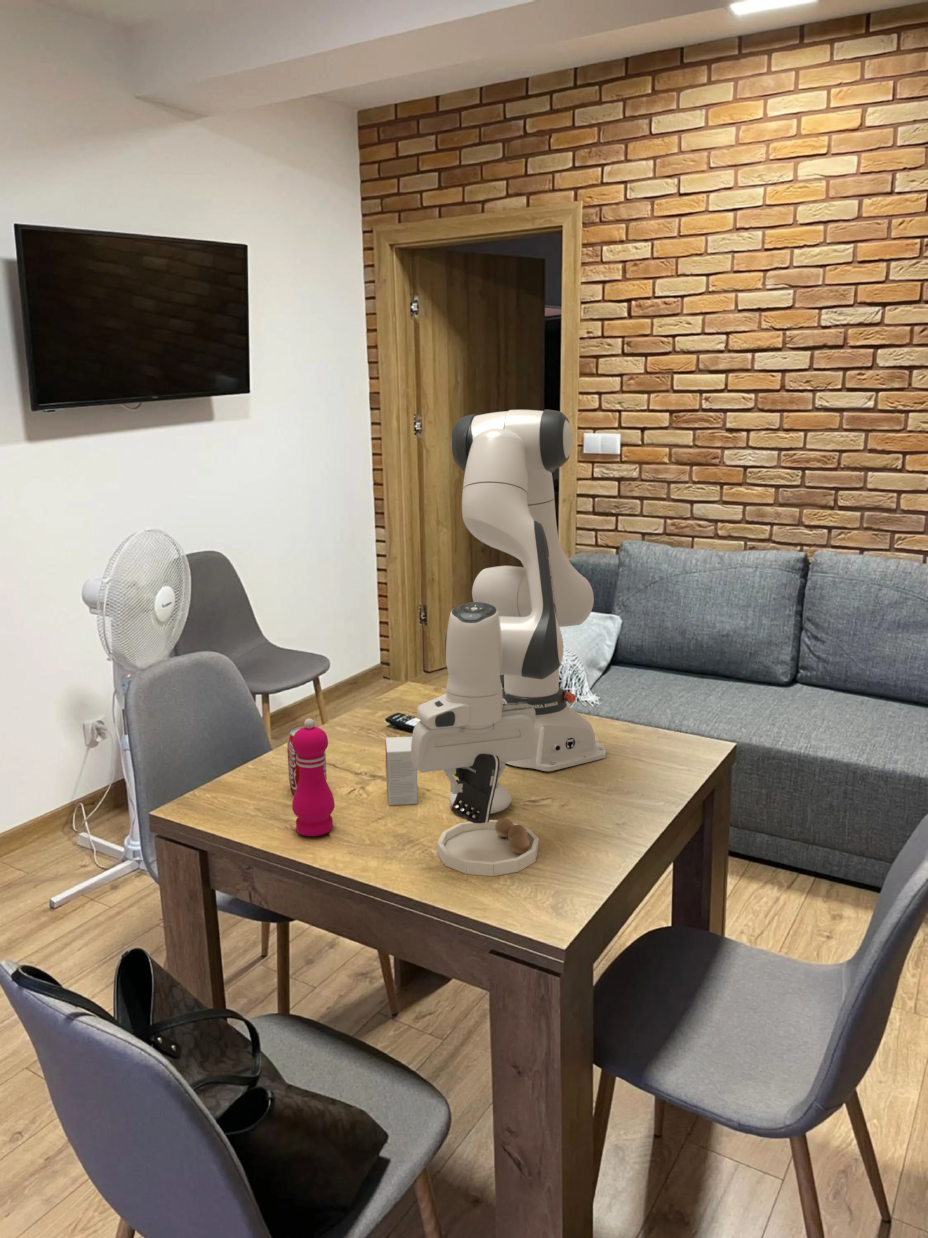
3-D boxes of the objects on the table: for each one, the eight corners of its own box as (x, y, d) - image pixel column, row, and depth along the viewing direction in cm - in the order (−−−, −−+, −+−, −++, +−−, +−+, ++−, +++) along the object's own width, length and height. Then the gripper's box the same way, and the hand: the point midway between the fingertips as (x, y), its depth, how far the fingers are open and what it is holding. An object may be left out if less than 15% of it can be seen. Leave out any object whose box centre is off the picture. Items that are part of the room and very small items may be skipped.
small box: (386, 789, 184) (384, 737, 182) (415, 787, 184) (414, 735, 182) (387, 806, 176) (385, 751, 174) (418, 804, 177) (416, 750, 174)
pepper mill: (316, 841, 162) (311, 728, 158) (284, 832, 166) (278, 721, 162) (344, 825, 168) (339, 716, 164) (312, 816, 172) (306, 709, 168)
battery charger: (444, 811, 156) (455, 743, 154) (460, 808, 158) (472, 741, 157) (473, 827, 151) (486, 757, 149) (490, 824, 154) (503, 755, 152)
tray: (515, 825, 167) (515, 814, 167) (553, 865, 153) (553, 853, 152) (427, 839, 162) (426, 828, 162) (457, 882, 148) (457, 870, 147)
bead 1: (510, 831, 164) (509, 813, 163) (517, 838, 161) (517, 821, 160) (492, 834, 163) (492, 816, 162) (499, 841, 160) (499, 823, 159)
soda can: (319, 799, 179) (316, 738, 177) (284, 797, 181) (280, 736, 178) (332, 785, 186) (329, 726, 184) (297, 782, 188) (294, 724, 185)
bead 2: (522, 838, 161) (522, 820, 160) (530, 846, 158) (530, 828, 157) (505, 841, 160) (505, 823, 159) (512, 849, 157) (512, 831, 156)
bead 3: (525, 847, 158) (525, 829, 157) (532, 855, 155) (532, 837, 154) (506, 850, 157) (506, 832, 156) (514, 859, 154) (514, 840, 153)
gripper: (527, 695, 158) (527, 775, 160) (407, 708, 151) (408, 791, 154) (543, 706, 152) (542, 788, 155) (418, 719, 145) (419, 805, 148)
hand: (474, 790), depth 154 cm, fingers closed on battery charger, 5 cm apart
